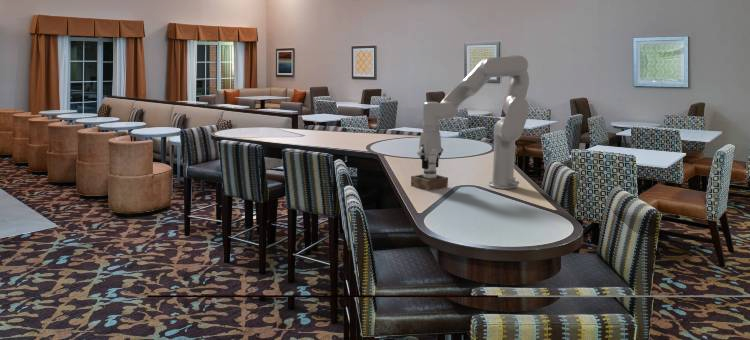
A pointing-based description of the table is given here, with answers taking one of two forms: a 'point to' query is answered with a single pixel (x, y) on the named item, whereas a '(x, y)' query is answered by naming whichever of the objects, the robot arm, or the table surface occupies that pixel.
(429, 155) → the silver rounded threaded piece
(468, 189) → the table surface
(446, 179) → the square wooden frame
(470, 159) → the table surface
